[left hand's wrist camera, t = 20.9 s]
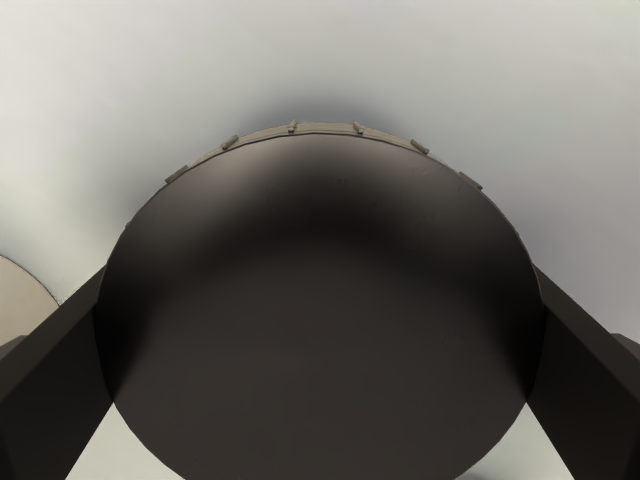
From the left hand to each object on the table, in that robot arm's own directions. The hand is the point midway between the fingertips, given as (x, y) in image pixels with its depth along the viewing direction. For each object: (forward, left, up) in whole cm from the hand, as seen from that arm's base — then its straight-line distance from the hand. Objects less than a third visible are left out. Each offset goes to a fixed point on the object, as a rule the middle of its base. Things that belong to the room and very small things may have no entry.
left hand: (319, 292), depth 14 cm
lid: (0, 0, +3) cm, 3 cm away
